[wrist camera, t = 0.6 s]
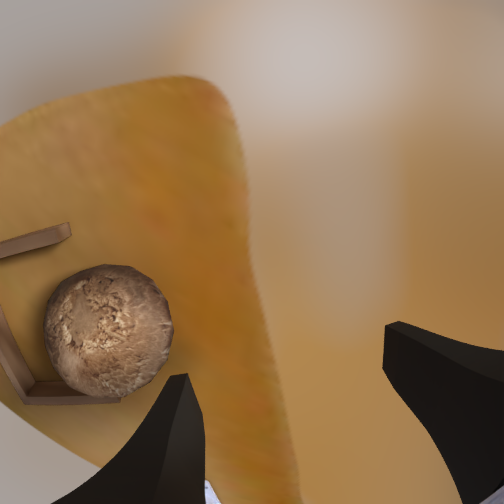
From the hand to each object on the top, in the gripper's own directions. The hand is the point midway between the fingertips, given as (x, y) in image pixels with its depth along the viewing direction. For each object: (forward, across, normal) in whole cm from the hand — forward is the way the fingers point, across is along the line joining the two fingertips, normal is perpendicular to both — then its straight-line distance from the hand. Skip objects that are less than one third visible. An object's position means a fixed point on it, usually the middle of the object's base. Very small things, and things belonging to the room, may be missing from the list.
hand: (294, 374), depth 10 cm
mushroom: (+10, +9, 0) cm, 13 cm away
